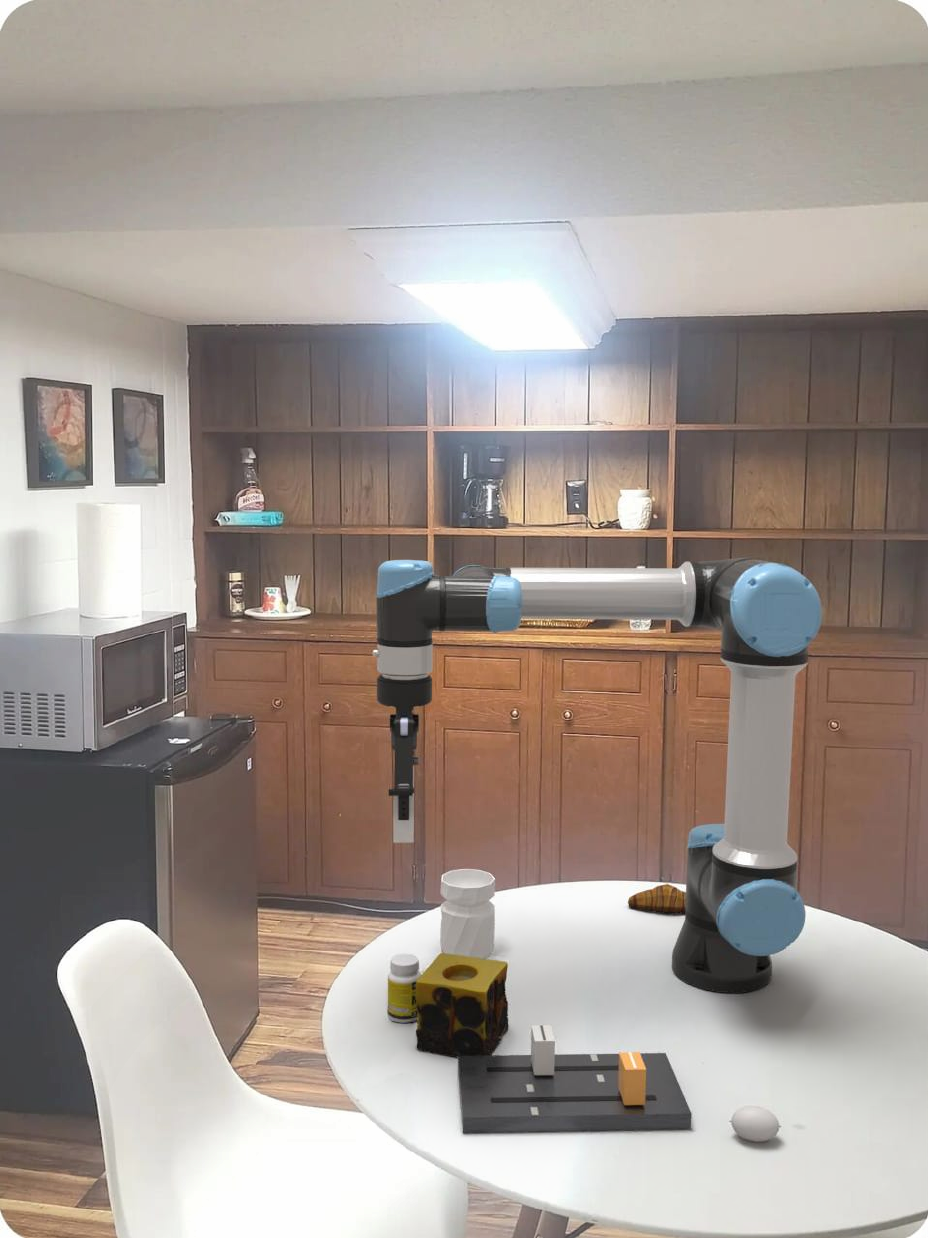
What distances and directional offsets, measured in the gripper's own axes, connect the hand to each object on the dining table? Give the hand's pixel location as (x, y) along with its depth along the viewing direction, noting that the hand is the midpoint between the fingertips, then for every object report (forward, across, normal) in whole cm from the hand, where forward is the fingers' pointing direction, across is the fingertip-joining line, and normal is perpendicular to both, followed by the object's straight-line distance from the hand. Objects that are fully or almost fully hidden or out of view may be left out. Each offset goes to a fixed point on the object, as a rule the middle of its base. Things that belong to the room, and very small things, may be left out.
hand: (404, 825), depth 158 cm
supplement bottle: (+28, 0, 0) cm, 28 cm away
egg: (+28, +30, +41) cm, 59 cm away
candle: (+28, +7, +8) cm, 30 cm away
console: (+28, +22, +21) cm, 41 cm away
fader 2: (+26, +25, +28) cm, 45 cm away
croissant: (+28, -39, +46) cm, 66 cm away
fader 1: (+26, +18, +18) cm, 36 cm away
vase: (+28, -22, +10) cm, 37 cm away
